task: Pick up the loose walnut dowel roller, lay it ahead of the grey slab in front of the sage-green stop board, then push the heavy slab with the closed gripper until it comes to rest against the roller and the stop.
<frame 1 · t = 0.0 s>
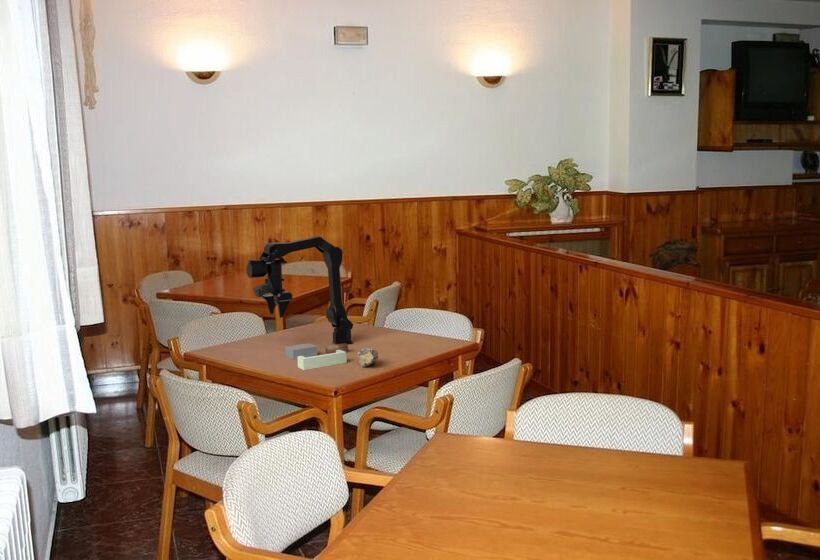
hand: (276, 315, 321), 15 cm above the table, fingers open, 9 cm apart
slab: (301, 356, 318), on the table
roller: (336, 353, 321), on the table
stop board: (324, 365, 301), on the table
rock: (366, 365, 302), on the table
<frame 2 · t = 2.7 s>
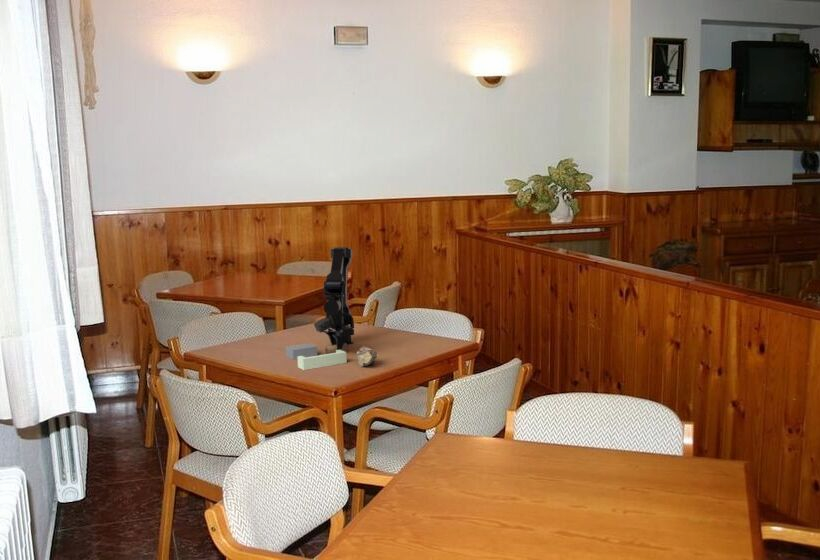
hand: (336, 350, 321), 1 cm above the table, fingers closed on roller, 3 cm apart
roller: (336, 353, 321), on the table, tilted 5°, touching gripper
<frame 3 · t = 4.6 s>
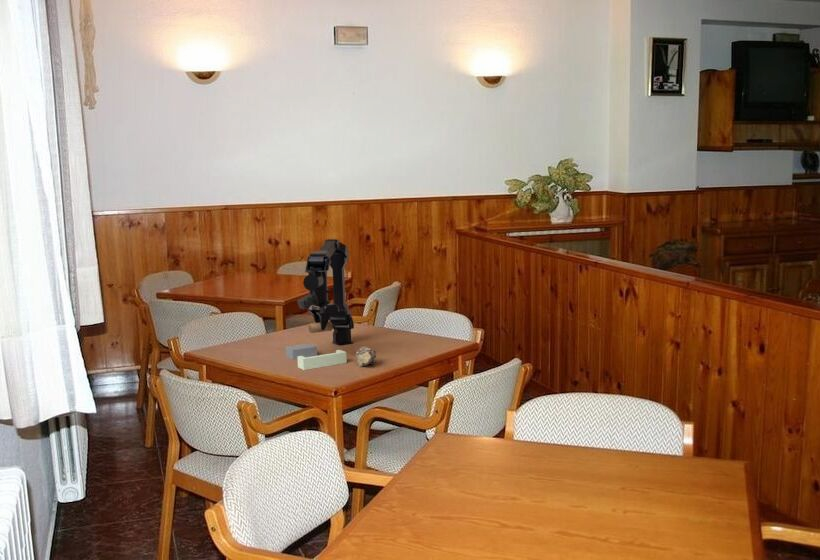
hand: (320, 329, 308), 12 cm above the table, fingers closed on roller, 3 cm apart
roller: (320, 331, 308), point 11 cm above the table, touching gripper
when the fingers open (2 cm above the table, at t = 6.5 s): roller drops 1 cm, on the table.
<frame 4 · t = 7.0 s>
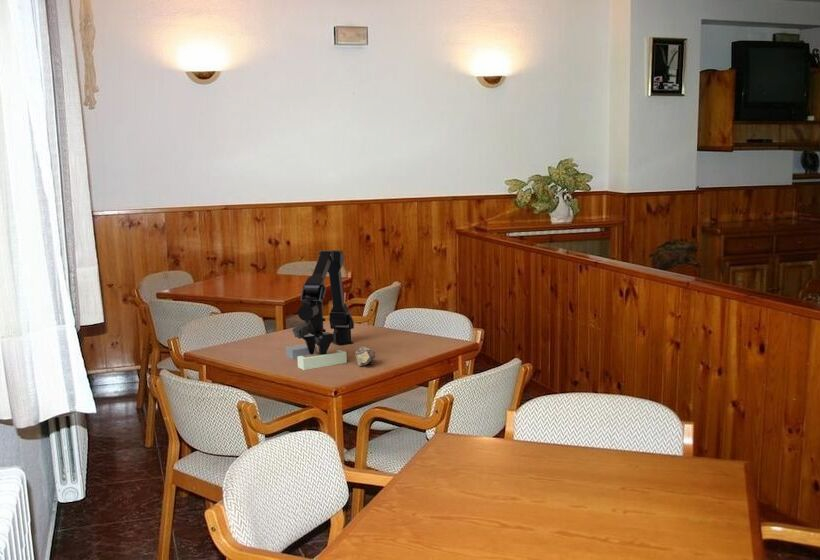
hand: (316, 357, 306), 2 cm above the table, fingers open, 8 cm apart
roller: (316, 363, 307), on the table
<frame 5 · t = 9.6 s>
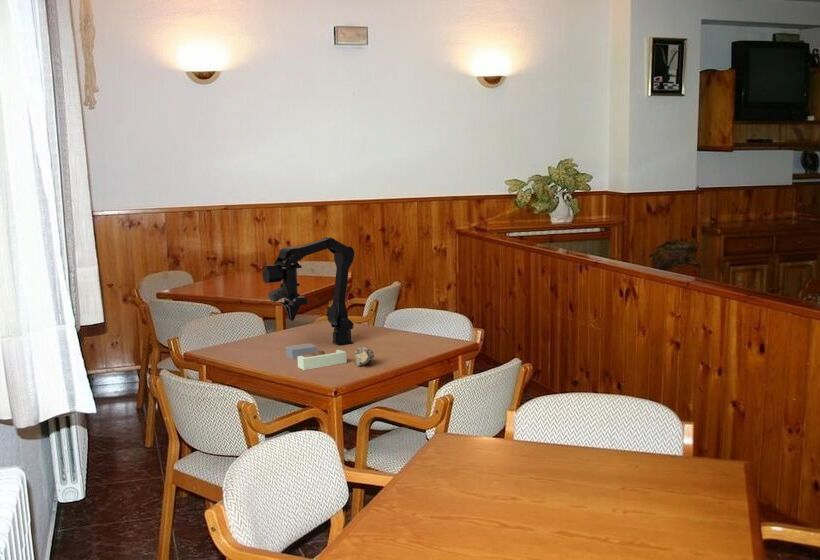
hand: (291, 320, 322), 13 cm above the table, fingers closed
roller: (315, 358, 307), point 1 cm above the table, tilted 87°
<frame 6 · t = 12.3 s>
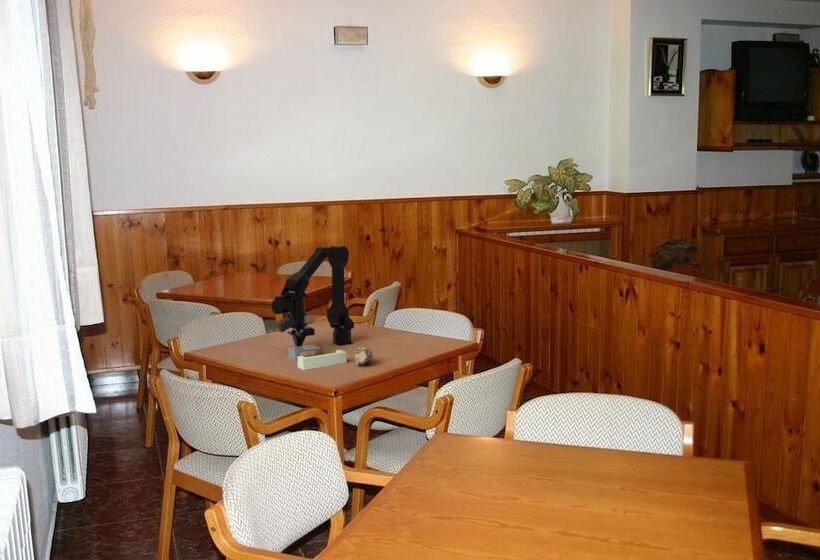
hand: (298, 350, 320), 2 cm above the table, fingers closed
slab: (304, 358, 316), on the table, touching gripper
roller: (309, 351, 311), point 3 cm above the table, tilted 176°
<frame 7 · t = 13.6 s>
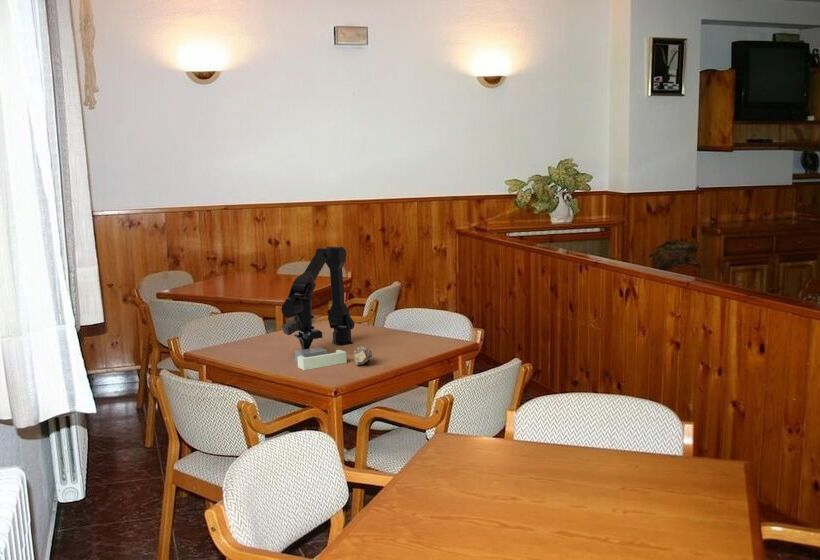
hand: (305, 353, 314), 2 cm above the table, fingers closed
slab: (311, 361, 311), on the table
roller: (318, 357, 305), point 3 cm above the table, tilted 124°
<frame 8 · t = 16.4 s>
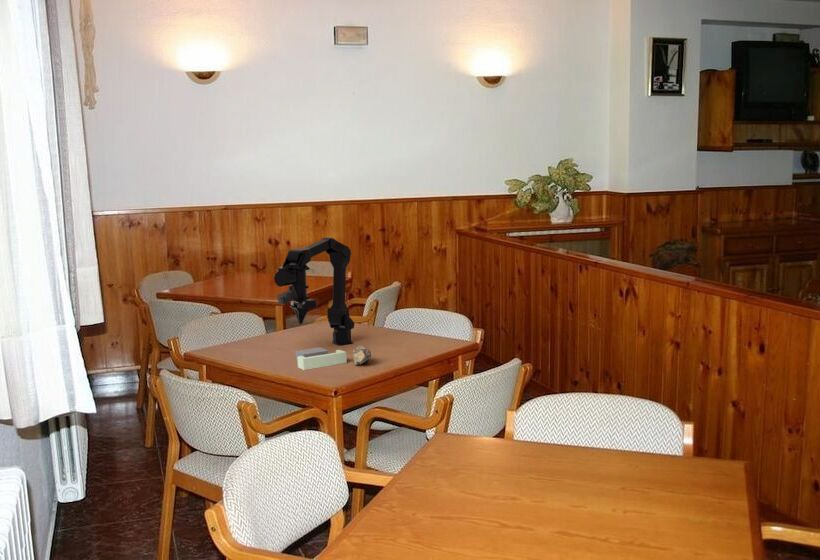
hand: (300, 323, 316), 12 cm above the table, fingers closed
roller: (316, 360, 306), point 1 cm above the table, tilted 74°
at the end: slab moved 8.9 cm from its start; slab inside the target area (0.2 cm from its centre), on the table; roller inside the target area (0.9 cm from its centre), point 1.0 cm above the table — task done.
